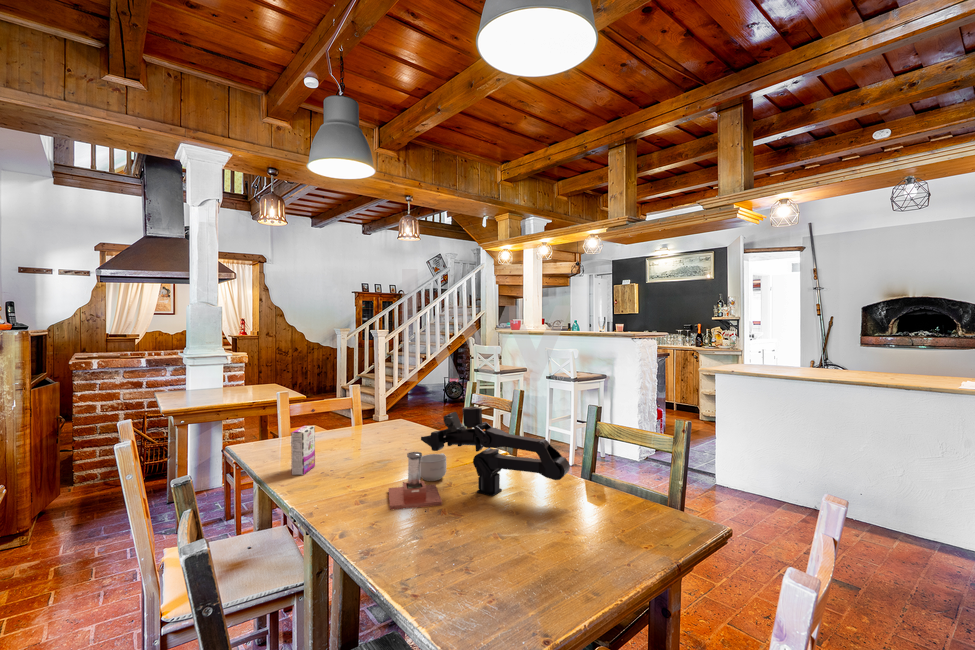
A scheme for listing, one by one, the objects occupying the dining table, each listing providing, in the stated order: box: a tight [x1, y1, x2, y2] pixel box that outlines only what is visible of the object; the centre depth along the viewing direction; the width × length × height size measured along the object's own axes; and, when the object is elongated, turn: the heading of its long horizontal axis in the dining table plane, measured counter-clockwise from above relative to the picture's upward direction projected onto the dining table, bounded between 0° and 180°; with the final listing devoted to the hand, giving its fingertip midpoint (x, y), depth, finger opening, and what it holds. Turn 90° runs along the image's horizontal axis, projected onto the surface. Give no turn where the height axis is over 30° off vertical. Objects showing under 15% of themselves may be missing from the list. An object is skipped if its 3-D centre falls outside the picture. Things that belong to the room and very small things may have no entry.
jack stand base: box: [388, 480, 443, 511], centre depth 148 cm, size 16×16×4 cm
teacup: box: [421, 453, 447, 482], centre depth 169 cm, size 14×11×8 cm
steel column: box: [406, 451, 423, 488], centre depth 149 cm, size 5×5×13 cm
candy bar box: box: [290, 425, 316, 476], centre depth 176 cm, size 11×5×16 cm, turn 179°
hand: (428, 435), depth 166 cm, fingers open, 9 cm apart
